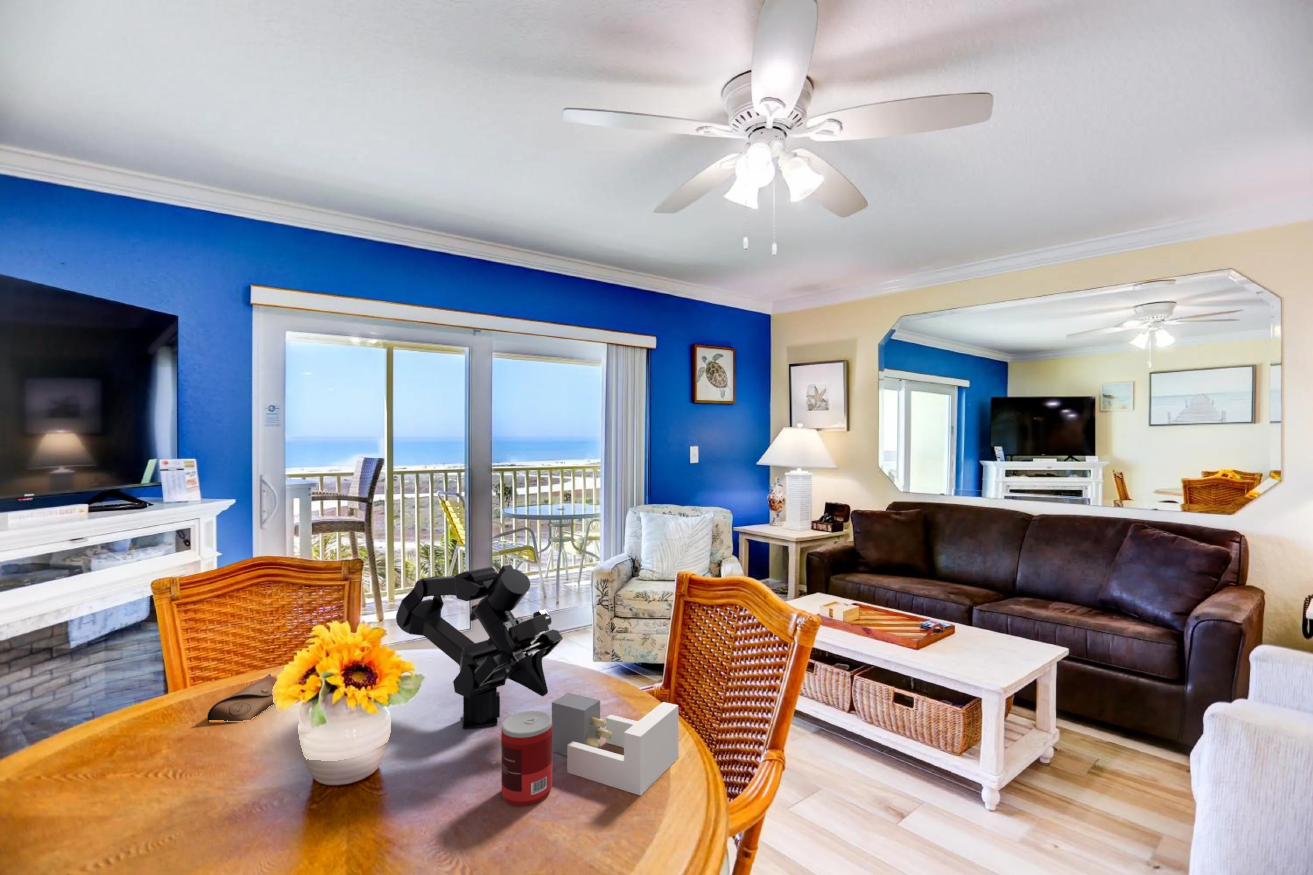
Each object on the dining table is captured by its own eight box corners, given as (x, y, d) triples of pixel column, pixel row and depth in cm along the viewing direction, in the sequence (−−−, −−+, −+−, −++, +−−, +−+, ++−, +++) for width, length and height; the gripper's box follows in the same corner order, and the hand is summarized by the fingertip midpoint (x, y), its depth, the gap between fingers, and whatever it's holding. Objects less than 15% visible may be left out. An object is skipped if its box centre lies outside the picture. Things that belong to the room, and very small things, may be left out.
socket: (567, 772, 100) (567, 717, 100) (610, 739, 112) (610, 689, 112) (640, 795, 94) (640, 736, 94) (678, 757, 105) (678, 705, 105)
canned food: (557, 779, 98) (557, 711, 98) (543, 808, 90) (543, 734, 90) (511, 777, 99) (511, 709, 99) (493, 806, 91) (493, 732, 91)
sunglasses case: (249, 722, 119) (232, 693, 119) (218, 741, 119) (201, 711, 119) (304, 687, 137) (289, 661, 137) (276, 703, 137) (262, 677, 137)
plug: (551, 750, 107) (551, 702, 107) (568, 739, 111) (568, 692, 111) (596, 764, 102) (596, 713, 103) (612, 751, 107) (611, 702, 107)
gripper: (486, 610, 105) (535, 686, 100) (555, 588, 121) (600, 653, 116) (454, 648, 109) (499, 724, 103) (525, 622, 125) (567, 686, 120)
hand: (545, 694), depth 110 cm, fingers closed
